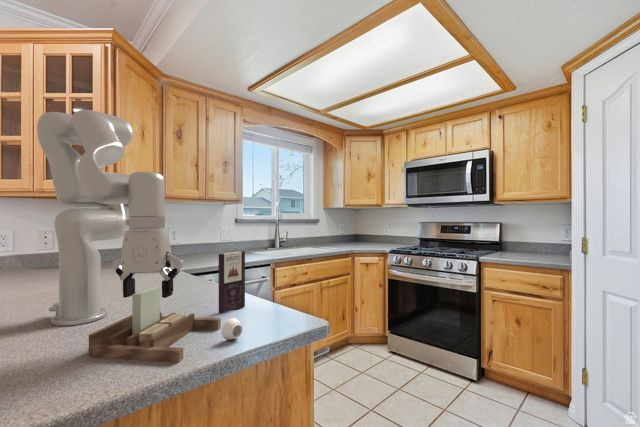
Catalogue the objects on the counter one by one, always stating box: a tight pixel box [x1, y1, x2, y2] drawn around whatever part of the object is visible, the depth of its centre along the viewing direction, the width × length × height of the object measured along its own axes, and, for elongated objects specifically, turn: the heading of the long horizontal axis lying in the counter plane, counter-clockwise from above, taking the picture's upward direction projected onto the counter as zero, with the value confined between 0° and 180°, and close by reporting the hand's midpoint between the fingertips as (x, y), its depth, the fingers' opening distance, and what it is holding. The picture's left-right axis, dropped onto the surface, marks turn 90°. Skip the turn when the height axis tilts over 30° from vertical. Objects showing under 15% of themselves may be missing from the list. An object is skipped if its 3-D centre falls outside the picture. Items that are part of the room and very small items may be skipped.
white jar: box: [221, 317, 243, 341], centre depth 73 cm, size 5×3×5 cm, turn 142°
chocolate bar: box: [218, 250, 246, 314], centre depth 96 cm, size 9×1×18 cm, turn 140°
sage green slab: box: [131, 286, 161, 335], centre depth 73 cm, size 2×7×12 cm, turn 174°
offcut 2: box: [160, 313, 186, 327], centre depth 76 cm, size 3×6×4 cm, turn 174°
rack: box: [88, 312, 222, 363], centre depth 72 cm, size 20×20×5 cm
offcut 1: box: [139, 324, 169, 346], centre depth 69 cm, size 3×6×4 cm, turn 174°
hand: (148, 296), depth 73 cm, fingers open, 9 cm apart
